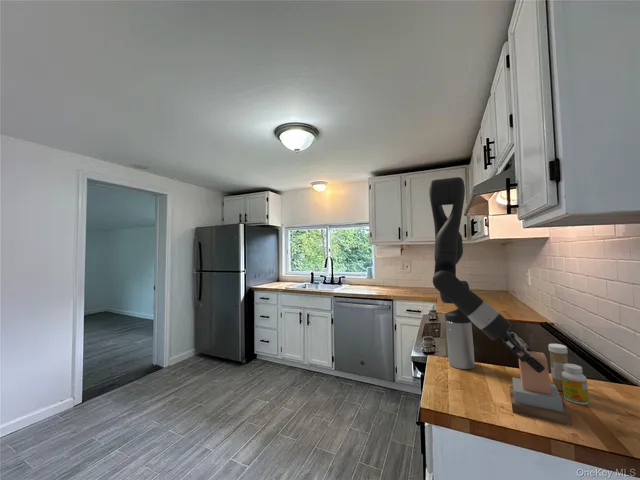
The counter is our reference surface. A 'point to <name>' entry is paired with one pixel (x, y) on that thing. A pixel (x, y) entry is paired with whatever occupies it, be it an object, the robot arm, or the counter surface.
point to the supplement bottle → (574, 384)
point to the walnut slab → (540, 411)
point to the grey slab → (537, 397)
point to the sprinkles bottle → (558, 363)
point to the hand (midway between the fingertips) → (539, 365)
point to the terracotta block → (535, 375)
